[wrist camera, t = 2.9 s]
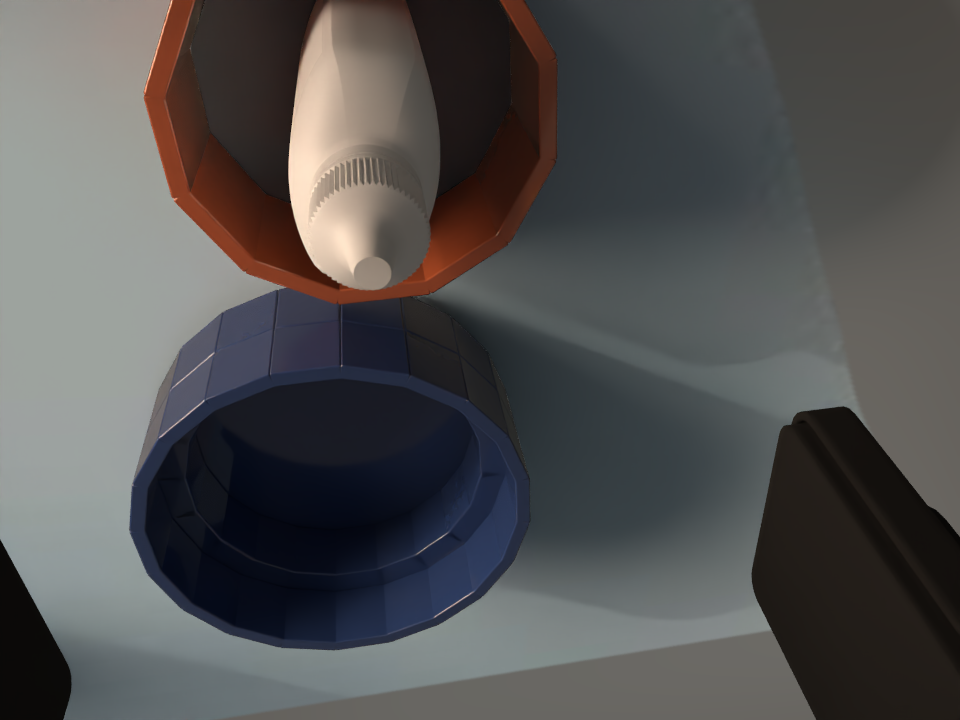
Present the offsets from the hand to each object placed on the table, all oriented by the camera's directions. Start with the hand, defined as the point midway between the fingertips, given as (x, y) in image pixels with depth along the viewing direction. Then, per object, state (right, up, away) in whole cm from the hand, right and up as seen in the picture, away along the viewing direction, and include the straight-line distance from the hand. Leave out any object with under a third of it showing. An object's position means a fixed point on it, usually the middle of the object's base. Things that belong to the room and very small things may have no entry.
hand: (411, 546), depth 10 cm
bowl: (-5, 0, +22) cm, 23 cm away
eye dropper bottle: (-3, +11, +15) cm, 19 cm away
